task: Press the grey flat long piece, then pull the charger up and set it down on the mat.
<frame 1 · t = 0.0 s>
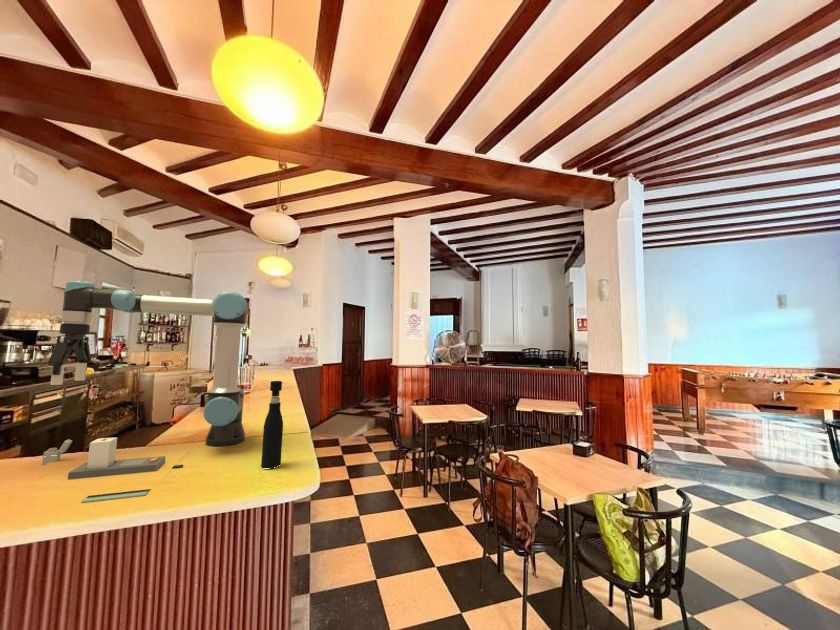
hand: (68, 382, 119), 28 cm above the bar counter, fingers open, 13 cm apart
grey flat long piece: (119, 473, 109), on the bar counter
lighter: (56, 464, 116), on the bar counter
wine bottle: (270, 466, 119), on the bar counter
charger: (100, 471, 108), point 1 cm above the bar counter, touching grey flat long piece
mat: (125, 488, 98), on the bar counter
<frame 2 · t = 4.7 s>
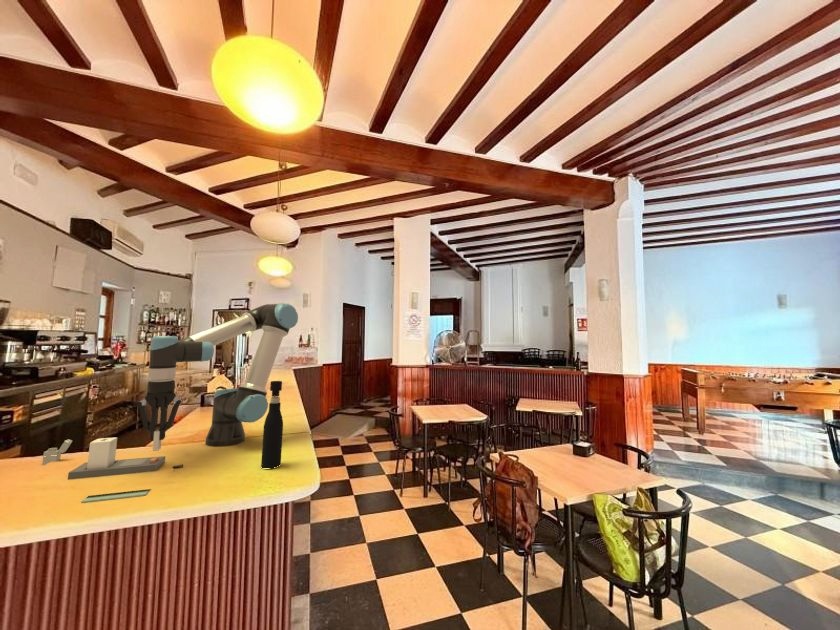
hand: (156, 449, 114), 7 cm above the bar counter, fingers closed
nothing on the bar counter moved.
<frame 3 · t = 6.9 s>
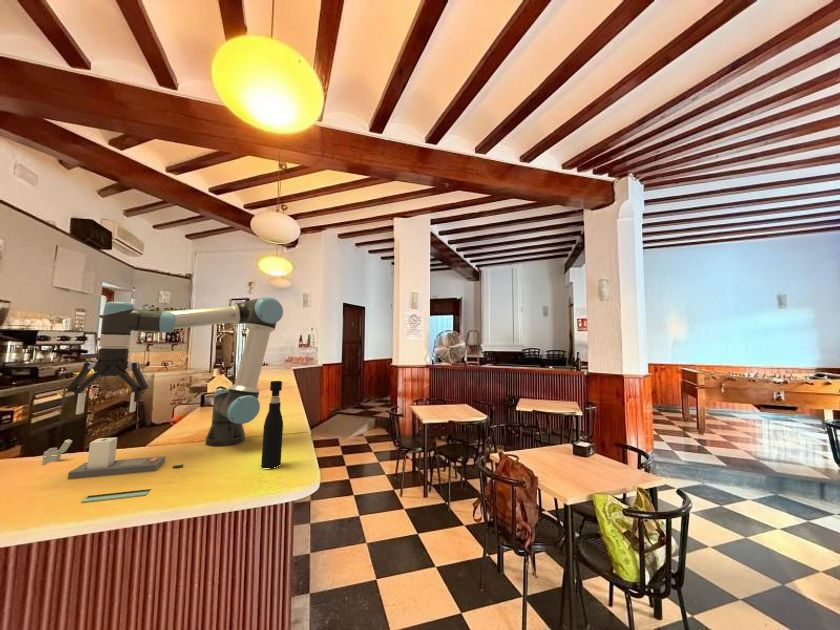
hand: (106, 412, 109), 20 cm above the bar counter, fingers open, 13 cm apart
nothing on the bar counter moved.
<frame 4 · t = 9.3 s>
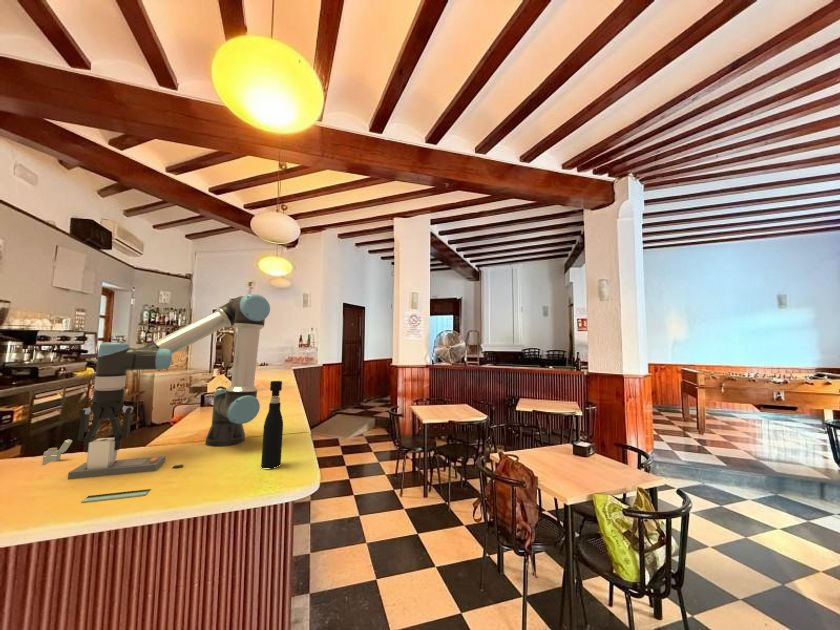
hand: (101, 461, 108), 4 cm above the bar counter, fingers closed on charger, 5 cm apart
charger: (100, 471, 108), point 1 cm above the bar counter, touching gripper, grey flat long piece
everything else where it was.
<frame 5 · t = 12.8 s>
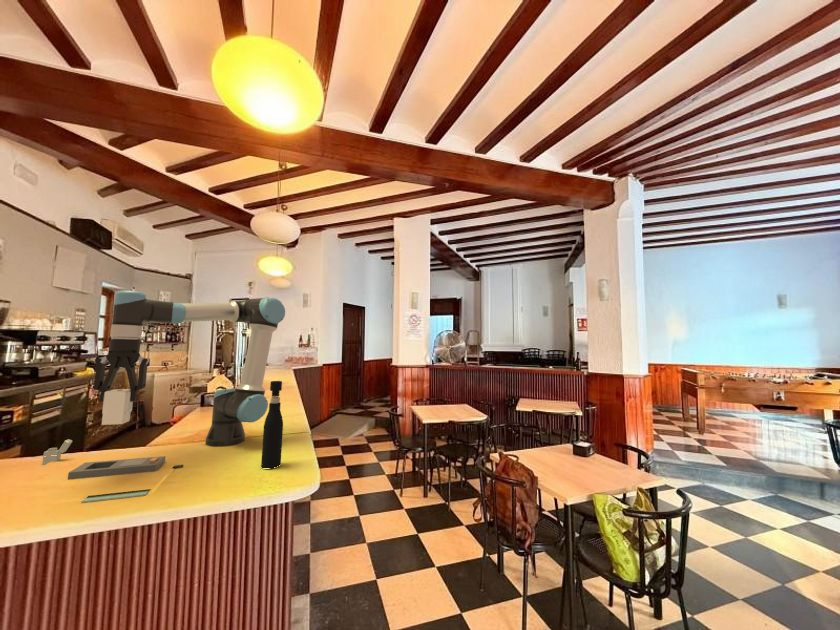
hand: (117, 412, 105), 21 cm above the bar counter, fingers closed on charger, 5 cm apart
charger: (116, 422, 104), point 18 cm above the bar counter, touching gripper
everything else where it was.
when the fingers open (5 cm above the bar counter, at t = 16.5 s): charger drops 1 cm, resting on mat.
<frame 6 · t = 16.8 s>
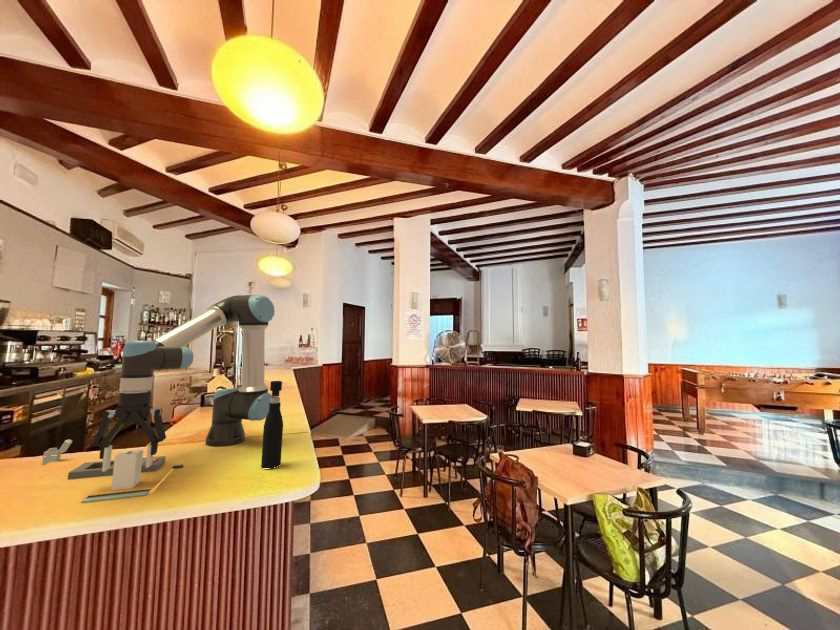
hand: (127, 467, 99), 6 cm above the bar counter, fingers open, 9 cm apart
charger: (125, 487, 98), resting on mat
everything else where it was.
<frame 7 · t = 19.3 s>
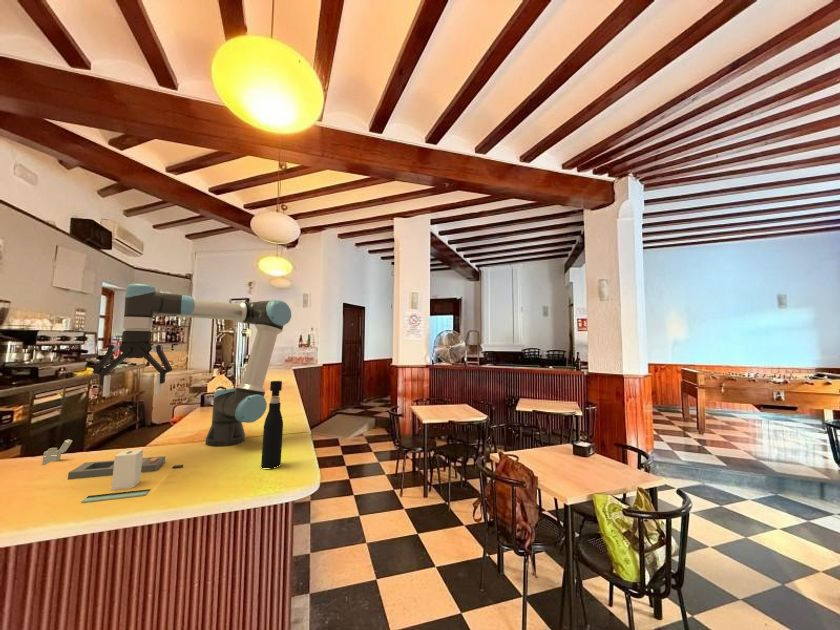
hand: (132, 394, 109), 26 cm above the bar counter, fingers open, 13 cm apart
nothing on the bar counter moved.
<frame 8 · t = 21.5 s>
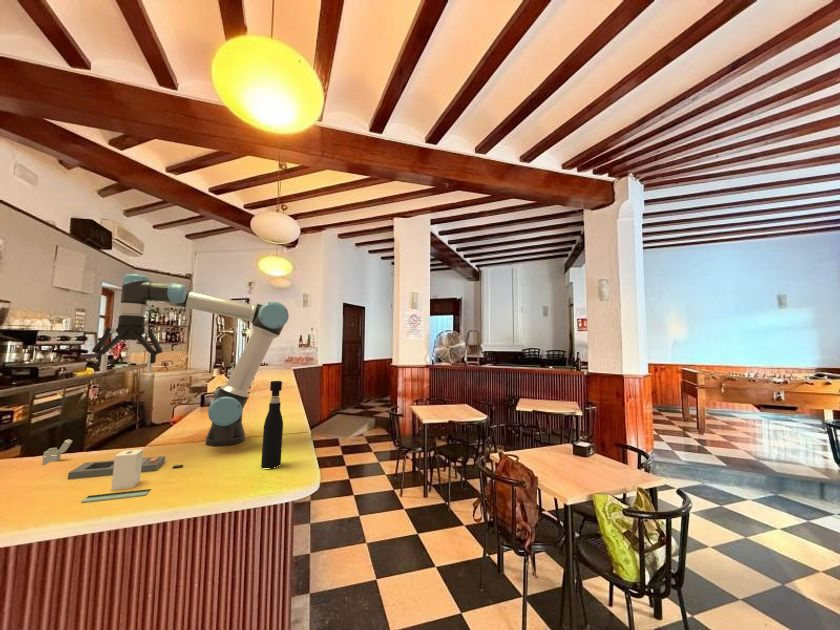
hand: (126, 372, 123), 32 cm above the bar counter, fingers open, 13 cm apart
nothing on the bar counter moved.
at the end: charger inside the target area on the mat (0.0 cm from its centre), point 0.4 cm above the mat's base; charger tilted 0°; the gripper is holding nothing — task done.
